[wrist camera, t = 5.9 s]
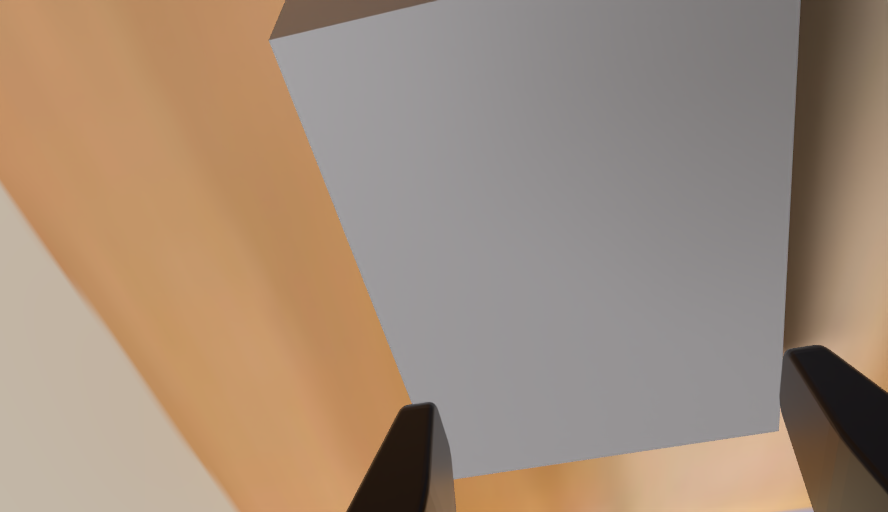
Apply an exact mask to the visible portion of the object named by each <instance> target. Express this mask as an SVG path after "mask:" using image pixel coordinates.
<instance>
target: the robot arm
mask: <svg viewBox="0 0 888 512" xmlns="http://www.w3.org/2000/svg"><path fill="white" fill-rule="evenodd" d="M779 400H780V408H781V412H782V416H783V419H784V422H785V425H786V428H787V431H788V434H789V437H790V440H791V443H792V446H793V449H794V452H795V455H796V458H797V461H798V465H799V468H800V471H801V474H802V477H803V480H804V483H805V486H806V489H807V492H808V495H809V498H810V501H811V504H812V507H813V510H814V512H888V393H887V392H886V391H885V390H883V389H882V388H881V387H879V386H878V385H877V384H875V383H874V382H872V381H871V380H870V379H868V378H867V377H866V376H864V375H863V374H862V373H860V372H859V371H858V370H856V369H855V368H854V367H852V366H851V365H850V364H848V363H847V362H846V361H844V360H843V359H842V358H840V357H839V356H838V355H836V354H835V353H834V352H832V351H831V350H829V349H828V348H826V347H824V346H821V345H812V346H805V347H798V348H792V349H789V350H787V351H786V352H785V353H784V356H783V360H782V371H781V382H780V393H779ZM346 512H456V504H455V492H454V481H453V469H452V458H451V452H450V447H449V442H448V439H447V436H446V433H445V430H444V427H443V424H442V420H441V417H440V414H439V411H438V408H437V406H436V405H435V404H434V403H433V402H424V403H417V404H411V405H406V406H404V407H402V408H401V409H400V411H399V412H398V414H397V416H396V418H395V420H394V422H393V424H392V426H391V428H390V429H389V431H388V433H387V435H386V437H385V439H384V441H383V443H382V445H381V447H380V448H379V450H378V452H377V454H376V456H375V458H374V460H373V462H372V464H371V466H370V468H369V469H368V471H367V473H366V475H365V477H364V479H363V481H362V483H361V485H360V487H359V488H358V490H357V492H356V494H355V496H354V498H353V500H352V502H351V504H350V506H349V508H348V509H347V511H346Z"/></svg>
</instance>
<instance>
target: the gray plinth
mask: <svg viewBox="0 0 888 512" xmlns="http://www.w3.org/2000/svg"><path fill="white" fill-rule="evenodd" d="M800 5H801V0H286V1H285V3H284V5H283V8H282V10H281V13H280V15H279V17H278V20H277V22H276V24H275V27H274V29H273V32H272V34H271V36H270V39H269V42H270V45H271V47H272V50H273V52H274V55H275V57H276V60H277V62H278V65H279V67H280V70H281V73H282V75H283V78H284V80H285V83H286V85H287V88H288V90H289V93H290V95H291V98H292V100H293V103H294V105H295V108H296V111H297V113H298V116H299V118H300V121H301V123H302V126H303V128H304V131H305V133H306V136H307V138H308V141H309V144H310V146H311V149H312V151H313V154H314V156H315V159H316V161H317V164H318V166H319V169H320V171H321V174H322V176H323V179H324V182H325V184H326V187H327V189H328V192H329V194H330V197H331V199H332V202H333V204H334V207H335V209H336V212H337V215H338V217H339V220H340V222H341V225H342V227H343V230H344V232H345V235H346V237H347V240H348V242H349V245H350V247H351V250H352V253H353V255H354V258H355V260H356V263H357V265H358V268H359V270H360V273H361V275H362V278H363V280H364V283H365V286H366V288H367V291H368V293H369V296H370V298H371V301H372V303H373V306H374V308H375V311H376V313H377V316H378V318H379V321H380V324H381V326H382V329H383V331H384V334H385V336H386V339H387V341H388V344H389V346H390V349H391V351H392V354H393V357H394V359H395V362H396V364H397V367H398V369H399V372H400V374H401V377H402V379H403V382H404V384H405V387H406V389H407V392H408V395H409V397H410V400H411V402H412V404H417V403H424V402H433V403H434V404H435V405H436V406H437V408H438V411H439V414H440V417H441V420H442V424H443V427H444V430H445V433H446V436H447V439H448V442H449V447H450V452H451V458H452V469H453V479H459V478H466V477H472V476H479V475H486V474H493V473H499V472H506V471H513V470H520V469H526V468H533V467H540V466H546V465H553V464H560V463H567V462H573V461H580V460H587V459H594V458H600V457H607V456H614V455H620V454H627V453H634V452H641V451H647V450H654V449H661V448H667V447H674V446H681V445H688V444H694V443H701V442H708V441H715V440H721V439H728V438H735V437H741V436H748V435H755V434H762V433H768V432H775V431H779V417H780V400H779V393H780V382H781V371H782V358H783V338H784V319H785V299H786V280H787V260H788V240H789V221H790V201H791V181H792V162H793V142H794V123H795V103H796V83H797V64H798V44H799V24H800Z"/></svg>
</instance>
